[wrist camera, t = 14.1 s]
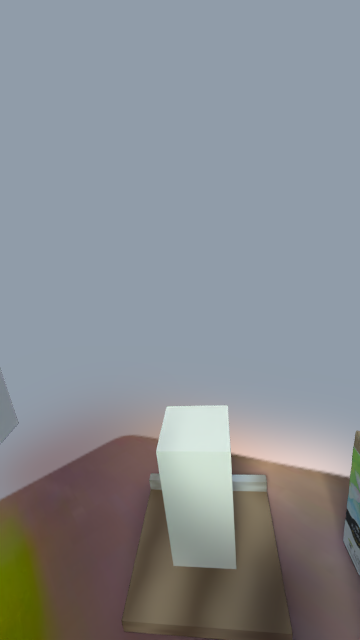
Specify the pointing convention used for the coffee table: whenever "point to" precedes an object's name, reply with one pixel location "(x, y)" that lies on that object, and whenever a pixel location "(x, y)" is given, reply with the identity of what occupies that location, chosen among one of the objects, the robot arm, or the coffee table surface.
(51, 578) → the coffee table surface
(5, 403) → the robot arm
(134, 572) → the brown slab
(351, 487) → the tea box
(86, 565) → the coffee table surface
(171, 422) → the carton
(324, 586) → the coffee table surface
